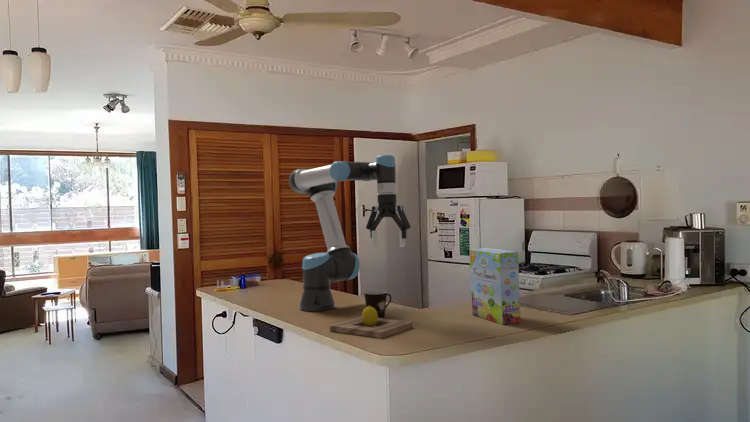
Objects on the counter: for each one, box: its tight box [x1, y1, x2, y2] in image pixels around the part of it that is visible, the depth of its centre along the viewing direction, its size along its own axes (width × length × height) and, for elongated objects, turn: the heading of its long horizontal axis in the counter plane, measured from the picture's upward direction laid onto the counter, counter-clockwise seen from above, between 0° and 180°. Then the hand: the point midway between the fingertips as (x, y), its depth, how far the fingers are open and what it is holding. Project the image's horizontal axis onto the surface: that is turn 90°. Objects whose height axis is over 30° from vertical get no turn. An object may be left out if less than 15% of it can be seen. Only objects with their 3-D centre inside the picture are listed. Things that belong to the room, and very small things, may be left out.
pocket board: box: [329, 316, 413, 339], centre depth 198 cm, size 22×19×2 cm
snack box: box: [469, 247, 522, 326], centre depth 210 cm, size 22×9×26 cm, turn 21°
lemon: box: [361, 306, 378, 327], centre depth 199 cm, size 6×6×8 cm
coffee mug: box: [363, 290, 392, 319], centre depth 218 cm, size 12×9×10 cm
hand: (388, 247), depth 227 cm, fingers open, 13 cm apart
